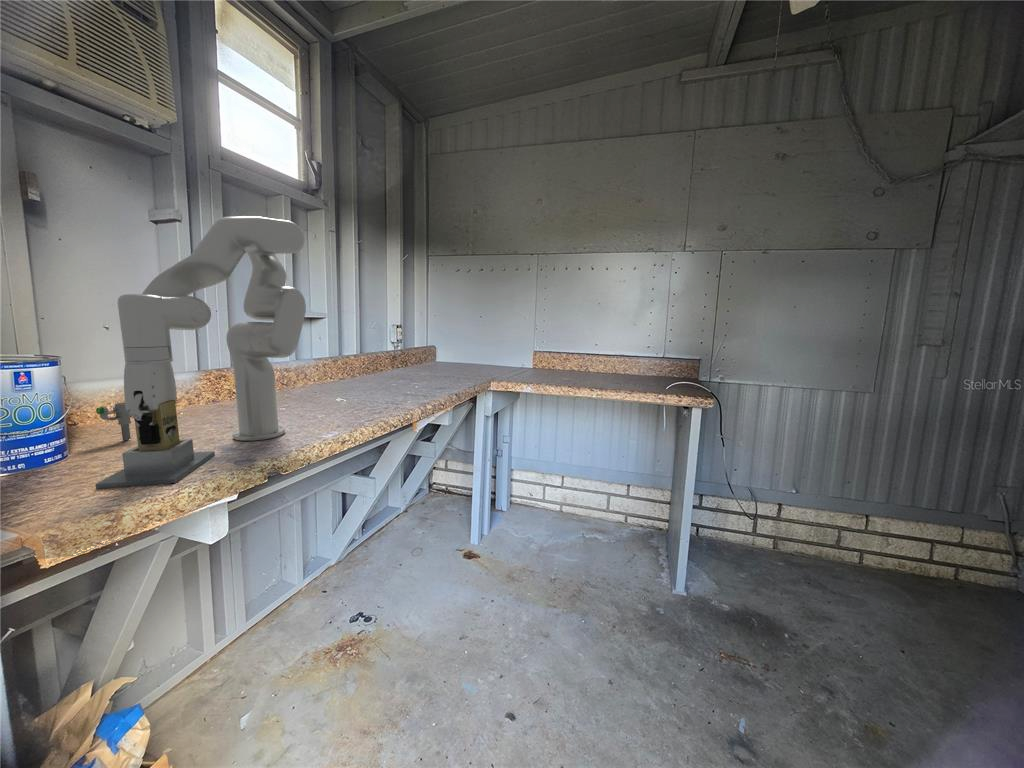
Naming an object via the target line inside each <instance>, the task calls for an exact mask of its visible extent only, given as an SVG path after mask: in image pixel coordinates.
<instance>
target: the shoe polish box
mask: <svg viewBox="0 0 1024 768" xmlns="http://www.w3.org/2000/svg"><path fill="white" fill-rule="evenodd" d="M142 409H143V410H149V409H148V408H142ZM144 415H147V416H148V417H149V418H150V414H144ZM134 424H135V433H136V442H137V446H138V450H139V451H149V450H168V449H171V448H172V447H174V446H176V445H178V444H180V440H181V439H180V433H179V424H178V413H177V405H176V403H175V400H171V401H168V402H165V403H162V404H159V409H158V410H157V411H156V424H155V425H158V427H159V435H160V443H158V444H148V445H142V444H141V442H140V434H139V426H137V422H136V421H135V420H134Z"/></svg>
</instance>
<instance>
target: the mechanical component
mask: <svg viewBox="0 0 1024 768" xmlns="http://www.w3.org/2000/svg"><path fill="white" fill-rule="evenodd" d="M113 405H114V407H113V408H112V410H109V409H108V407H107V406H100V407H97V408H95V410H96V411H95V412H96V413H97V415H99V417H100V419H102V420H106V421H110V422H111V421H118V423H117V425H119V426H120V427H121V428H120V430H121V437H122V441H123V440H124V441H125V440H129V439H131V440H132V437H131V431H130V424H132V421H131V418H132V417H131V416H130V415H129V412H128V411H127V410H126V407H125V401H124V402H117V403H114V404H113ZM112 414H115V416H111V417H109V416H108V415H112ZM129 441H130V440H129Z"/></svg>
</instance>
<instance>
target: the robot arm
mask: <svg viewBox="0 0 1024 768" xmlns="http://www.w3.org/2000/svg"><path fill="white" fill-rule="evenodd" d="M304 245H305V236H304V233H303V231H302V229H301V228H300V226H298V224H296V223H295V222H293V221H291V220H285V219H277V218H269V217H266V216H265V217H263V216H255V215H254V216H253V215H252V216H250V215H249V216H247V215H246V216H245V215H242V216H240V215H239V216H223V217H221V218H218V219H217V220H216V221H215V222H213V224H212V225H211V227H210V228H209V230H208V231H207V233H206V234H205V235H204V236H203V238H202V239H201V241H199V244H197V246H196V248H195V249H194V250H193V252H192V253H191V254H190V255H189V256H188V257H186V258H183V259H182V260H180V261H178V262H177V263H175V264H174V265H173V266H171V267H169V268H167V269H165V270H164V271H162V272H161V273H159V274H158V275H156V276H155V278H153V280H152V281H151V282H150V283H149V284H148V285H147V286H146V288H145V289H144V290H143V291H142V293H141V294H135V293H133V294H131V293H130V294H129V293H128V294H122V295H120V296H119V297H118V299H117V308H118V309H117V310H118V317H119V323H120V324H119V325H120V331H121V340H122V346H123V355H124V369H123V394H124V402H125V407H126V410H127V411H128V412H129V415H130V416H131V417H130V418H133V420H134V422H135V421H136V422H137V426H139V434H140V442H141V444H142V445H148V444H158V443H160V435H159V427H158V425H155V424H156V411H157V410H158V409H159V404H162V403H165V402H168V401H171V400H175V404H176V403H177V401H178V400H177V399H178V392H177V385H176V379H175V372H174V369H173V365H172V363H173V362H174V358H173V351H172V350H173V349H172V341H171V334H170V330H175V331H176V330H177V331H195V330H199V329H202V328H204V327H205V326H207V325H208V324H209V322H210V321H211V318H212V311H211V309H210V307H209V305H208V304H207V303H206V302H205V301H203V300H202V299H200V298H198V297H195V296H191V294H193V293H196V292H197V291H200V290H202V289H203V290H204V289H206V288H209V287H214V286H215V285H218V284H220V283H223V282H225V281H227V280H228V279H229V278H230V277H231V276H232V274H233V272H234V270H235V269H236V267H237V265H238V264H239V263H240V261H241V259H242V258H243V257H244V255H245V254H246V253H247V255H248V257H249V259H250V262H251V266H252V269H251V270H252V271H251V274H250V279H249V282H248V286H247V290H246V293H245V295H244V300H243V311H244V313H245V315H246V316H247V317H248V318H250V319H253V320H256V321H242V322H237V323H235V324H233V325H232V326H231V327H229V328H228V330H227V333H226V337H225V338H226V345H227V348H228V351H229V355H230V357H231V361H232V367H233V375H234V387H235V388H234V389H235V398H236V399H235V400H236V411H237V418H238V419H237V420H238V430H235V431H234V432H233V433H232V438H233V439H234V440H236V441H241V442H242V441H243V442H245V441H247V442H250V441H251V442H254V441H262V440H263V441H264V440H269V439H274V438H276V437H277V438H278V437H280V436H282V435H283V434H285V433H286V429H285V427H283V426H282V425H281V426H280V425H279V419H278V418H279V417H278V415H279V414H278V403H277V389H276V374H275V370H274V369H275V368H274V367H273V365H272V363H271V362H270V360H269V359H270V358H272V359H273V358H274V359H278V358H279V359H284V358H288V357H290V356H292V355H293V354H294V353H295V352H296V350H297V348H298V344H299V341H300V337H301V333H302V331H303V330H302V329H303V326H304V323H305V322H304V321H305V318H306V311H307V305H306V304H307V303H306V300H305V297H304V295H303V293H302V292H301V291H300V290H299V289H297V288H295V287H293V286H286V282H287V271H286V270H285V268H284V266H283V264H282V263H281V262H280V260H279V259H278V257H277V256H276V255H277V254H281V255H282V254H283V255H285V254H289V255H290V254H297V253H299V252H300V251H302V249H303V247H304ZM268 358H269V359H268ZM142 408H148V409H149V410H143V409H142ZM144 414H150V418H149V417H148V416H147V415H144Z"/></svg>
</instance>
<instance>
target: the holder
mask: <svg viewBox="0 0 1024 768" xmlns="http://www.w3.org/2000/svg"><path fill="white" fill-rule="evenodd" d="M179 440H180V444H178V445H176V446H174V447H172V448H171V449H168V450H149V451H139V450H138V445H136V446H134V447H132V448H130V449H128V450H126V451H123V452H122V453H121V454H122V462H123V469H121V470H119V471H118V472H116V473H115V472H114V473H113V474H112V475H110V476H107V477H106V478H104V479H102V480H100V481H99V482H96V483H95V484H94V485H95V489H96V490H101V489H102V488H105V489H115V488H114V487H120V488H129V487H128V486H135V487H146V486H147V485H149V486H159V485H158V484H164V485H171V484H170V483H175V484H177V483H178V482H179V481H181V480H182V479H184V478H185V477H187V476H188V475H189V474H190V472H191V473H192V472H194V471H196V470H197V468H199V467H200V466H202V465H204V464H205V463H206V462H208V461H209V460H210V459H211V457H212V458H213V457H215V455H216V454H215V451H214V450H213V451H211V450H210V451H194V443H193V439H192V438H188V439H187V438H186V439H179ZM208 459H209V460H208ZM204 462H205V463H204ZM187 474H188V475H187ZM184 476H185V477H184ZM183 477H184V478H183ZM181 478H182V479H181ZM180 479H181V480H180ZM178 480H179V481H178ZM177 481H178V482H177ZM176 482H177V483H176ZM126 486H127V487H126ZM147 487H148V486H147ZM102 490H103V489H102Z"/></svg>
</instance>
